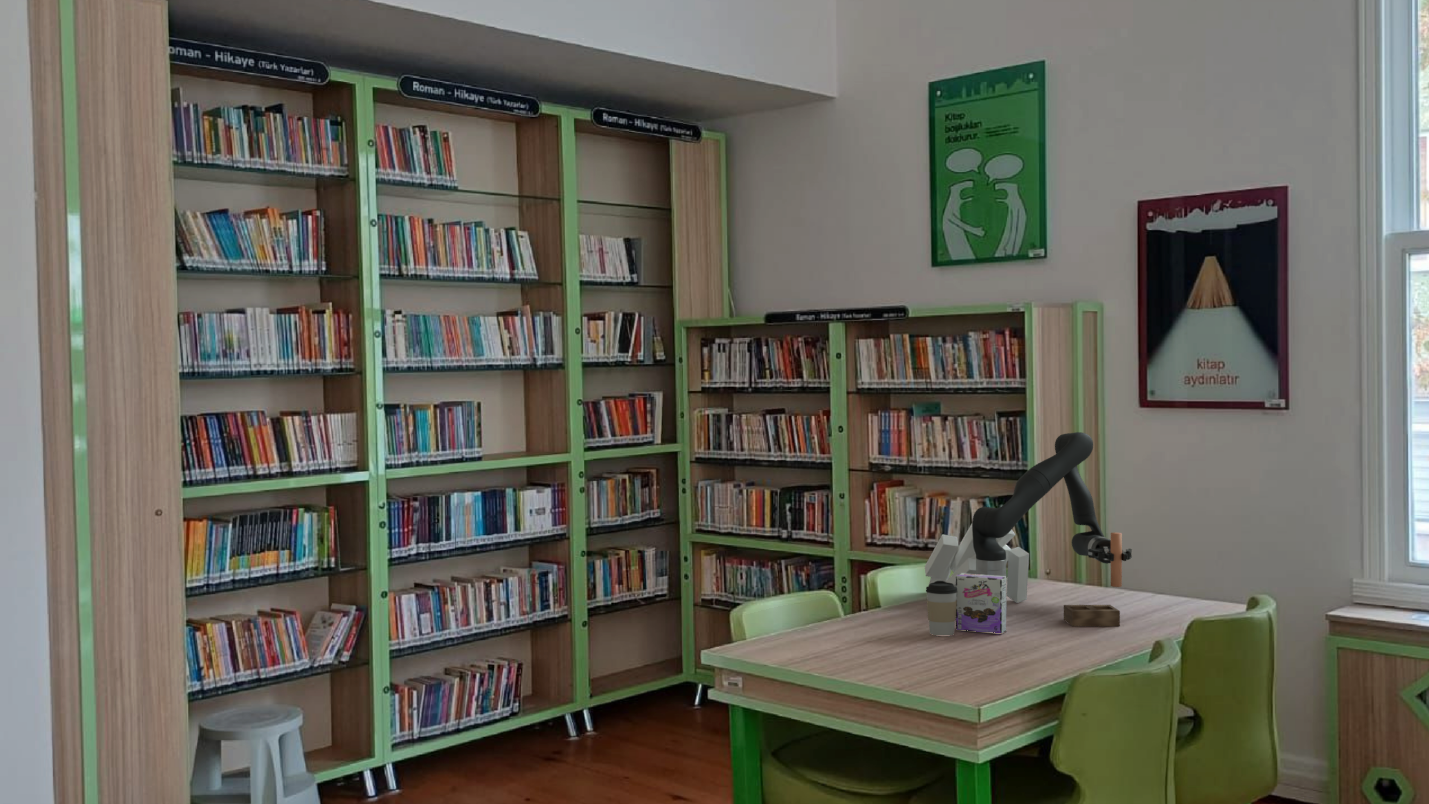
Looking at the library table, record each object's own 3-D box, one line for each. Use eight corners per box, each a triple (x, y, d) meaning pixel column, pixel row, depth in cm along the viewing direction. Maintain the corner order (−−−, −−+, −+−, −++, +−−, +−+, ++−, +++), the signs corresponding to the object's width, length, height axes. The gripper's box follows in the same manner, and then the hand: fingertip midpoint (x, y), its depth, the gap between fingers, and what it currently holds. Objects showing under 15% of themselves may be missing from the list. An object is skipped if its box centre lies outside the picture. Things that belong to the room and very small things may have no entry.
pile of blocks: (904, 617, 414) (922, 531, 397) (930, 570, 439) (948, 487, 422) (1008, 653, 403) (1031, 565, 386) (1028, 603, 427) (1050, 518, 410)
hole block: (1072, 626, 372) (1072, 611, 372) (1063, 619, 382) (1063, 605, 382) (1119, 626, 371) (1119, 610, 371) (1110, 619, 381) (1110, 604, 381)
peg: (1112, 587, 376) (1112, 533, 376) (1109, 585, 379) (1109, 532, 379) (1123, 587, 376) (1123, 533, 375) (1119, 585, 379) (1120, 532, 379)
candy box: (955, 631, 367) (954, 575, 367) (960, 627, 372) (960, 572, 372) (1001, 635, 361) (1001, 578, 360) (1007, 631, 366) (1006, 575, 365)
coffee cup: (960, 637, 358) (959, 585, 358) (928, 637, 358) (928, 585, 358) (954, 630, 367) (954, 579, 367) (923, 631, 367) (923, 580, 367)
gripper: (1080, 537, 392) (1095, 545, 374) (1125, 537, 391) (1142, 545, 374) (1080, 561, 392) (1095, 570, 375) (1125, 561, 391) (1142, 570, 374)
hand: (1118, 557), depth 374 cm, fingers closed on peg, 3 cm apart
